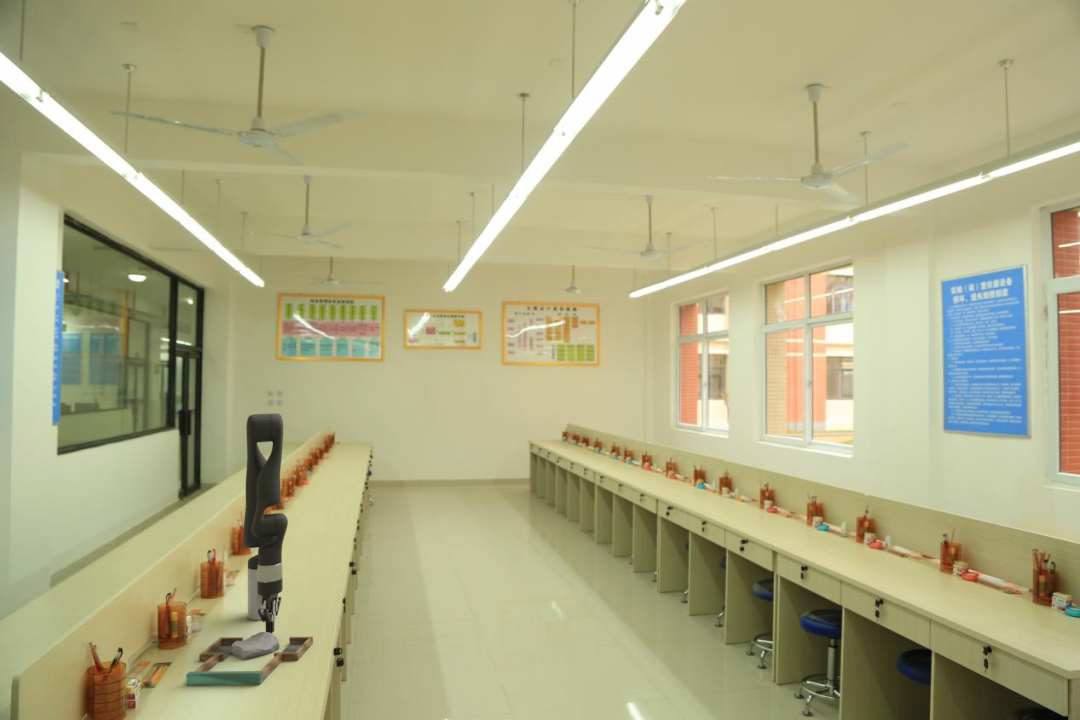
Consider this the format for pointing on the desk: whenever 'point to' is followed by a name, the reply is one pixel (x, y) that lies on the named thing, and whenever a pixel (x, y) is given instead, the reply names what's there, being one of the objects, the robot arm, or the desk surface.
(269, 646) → the stone block
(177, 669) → the desk surface
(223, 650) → the trap lane
